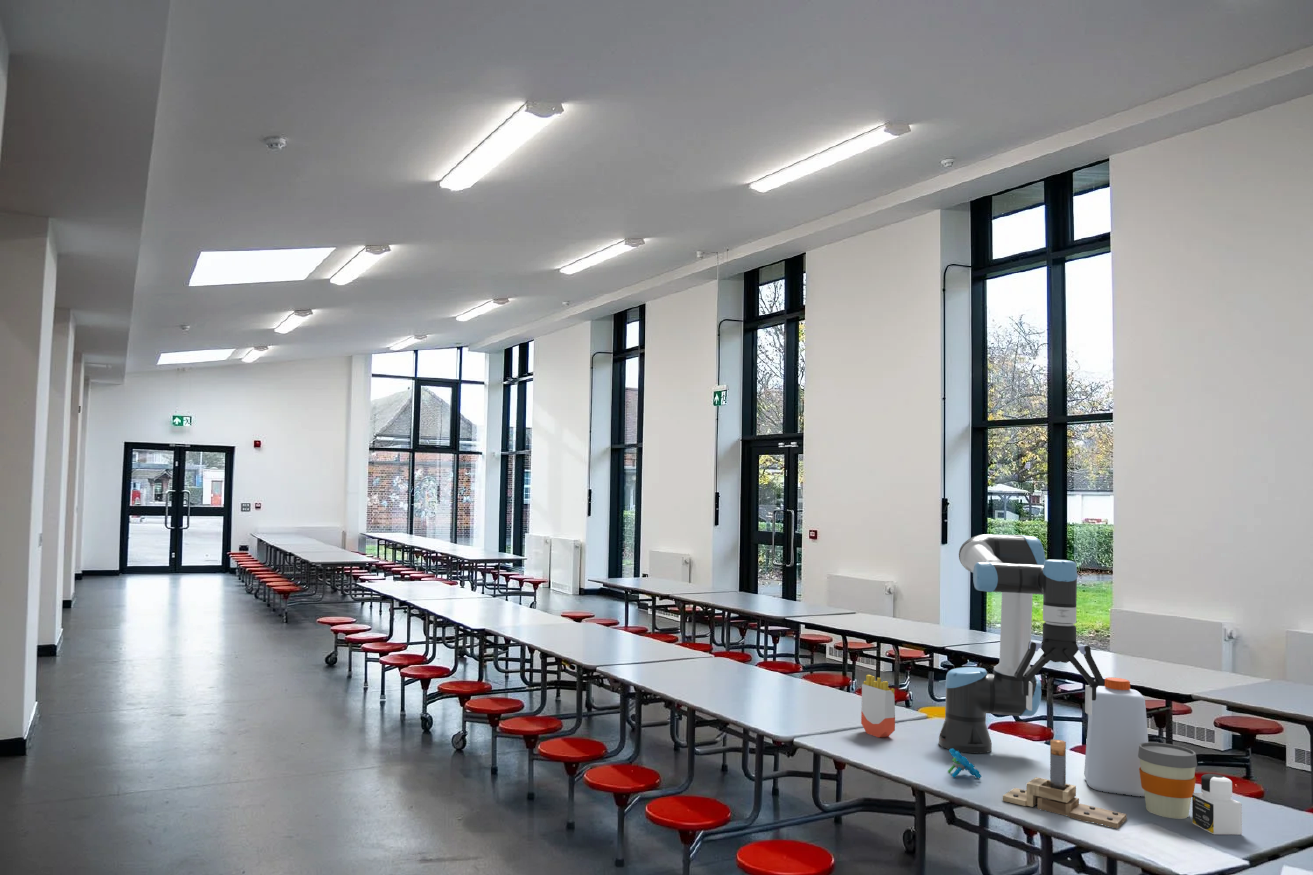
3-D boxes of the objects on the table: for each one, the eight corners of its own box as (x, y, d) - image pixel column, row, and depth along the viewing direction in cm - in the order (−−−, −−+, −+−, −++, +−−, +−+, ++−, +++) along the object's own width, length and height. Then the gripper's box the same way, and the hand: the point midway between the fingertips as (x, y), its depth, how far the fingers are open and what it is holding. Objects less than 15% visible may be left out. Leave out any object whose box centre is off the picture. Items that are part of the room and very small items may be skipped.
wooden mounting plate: (1047, 800, 223) (1047, 790, 223) (1126, 819, 211) (1126, 807, 211) (1036, 809, 216) (1036, 798, 216) (1117, 828, 204) (1117, 817, 205)
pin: (1052, 805, 219) (1052, 738, 220) (1067, 808, 217) (1067, 741, 218) (1048, 808, 217) (1048, 741, 218) (1063, 812, 214) (1063, 743, 216)
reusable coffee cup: (1196, 825, 209) (1196, 759, 210) (1135, 813, 216) (1135, 749, 217) (1197, 810, 220) (1197, 748, 221) (1139, 800, 226) (1139, 739, 228)
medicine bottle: (1191, 823, 210) (1191, 771, 211) (1220, 823, 211) (1220, 771, 212) (1213, 834, 203) (1212, 780, 204) (1242, 835, 204) (1242, 780, 205)
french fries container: (871, 729, 288) (873, 672, 290) (895, 738, 279) (896, 679, 280) (860, 731, 286) (862, 673, 287) (884, 739, 276) (885, 680, 278)
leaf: (1014, 792, 228) (1015, 771, 228) (1076, 806, 218) (1076, 784, 219) (1002, 800, 221) (1002, 778, 221) (1066, 815, 211) (1066, 793, 212)
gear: (988, 777, 235) (961, 748, 236) (973, 794, 234) (946, 764, 235) (972, 771, 246) (945, 743, 247) (957, 787, 245) (931, 758, 246)
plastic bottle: (1088, 791, 232) (1088, 681, 234) (1082, 775, 246) (1083, 671, 248) (1154, 799, 227) (1154, 687, 229) (1144, 783, 241) (1144, 677, 243)
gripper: (1009, 622, 219) (1008, 710, 217) (1119, 628, 214) (1118, 719, 213) (1002, 618, 226) (1001, 703, 225) (1109, 624, 222) (1108, 711, 220)
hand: (1058, 711), depth 219 cm, fingers open, 13 cm apart
